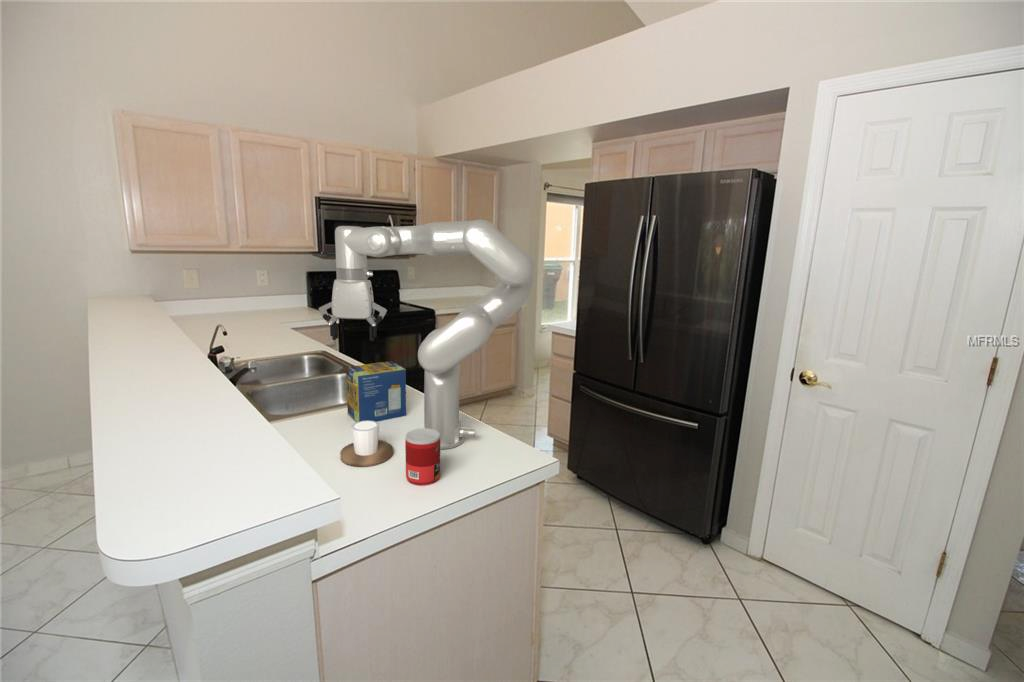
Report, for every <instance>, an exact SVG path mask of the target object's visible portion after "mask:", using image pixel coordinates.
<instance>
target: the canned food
mask: <svg viewBox="0 0 1024 682" xmlns="http://www.w3.org/2000/svg"><path fill="white" fill-rule="evenodd" d="M404 441H405V443H404V444H405V446H404V447H405V477H406V480H407V481H408V483H410V484H412V485H415V486H428V485H432V484H435V483H436V482H438V481H439V478H440V476H441V449H440V433H439V432H438V431H436V430H433V429H426V428H424V427H423V428H416V429H412V430H410V431H408V432H406V434H405V440H404Z"/></svg>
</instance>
